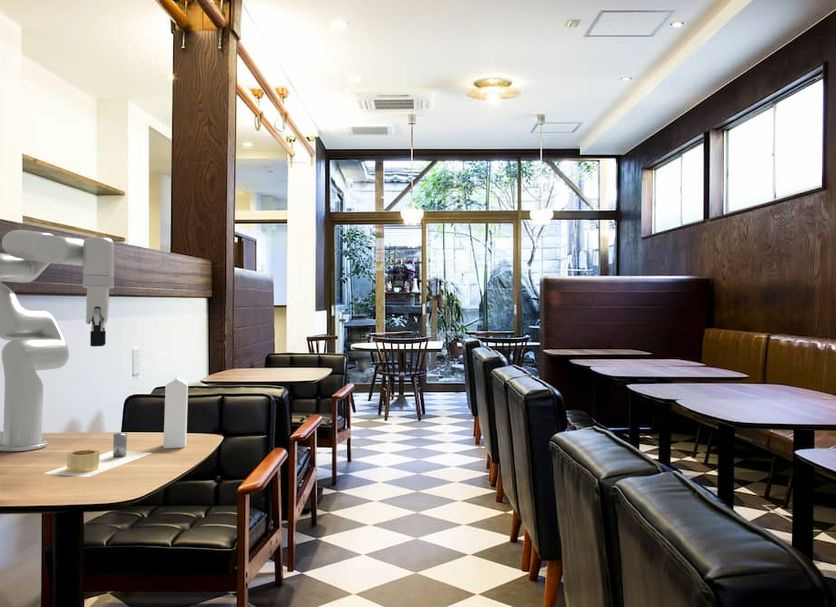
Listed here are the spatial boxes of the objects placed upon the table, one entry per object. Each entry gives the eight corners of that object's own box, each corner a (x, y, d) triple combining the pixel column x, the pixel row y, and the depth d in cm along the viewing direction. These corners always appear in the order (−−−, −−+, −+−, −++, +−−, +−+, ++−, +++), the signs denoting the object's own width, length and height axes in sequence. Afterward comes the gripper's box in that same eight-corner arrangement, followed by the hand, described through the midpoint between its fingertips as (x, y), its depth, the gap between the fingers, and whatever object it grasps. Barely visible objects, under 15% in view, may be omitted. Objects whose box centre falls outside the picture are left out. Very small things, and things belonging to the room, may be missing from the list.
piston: (110, 457, 166) (111, 434, 166) (118, 454, 169) (118, 432, 169) (121, 458, 165) (121, 435, 165) (128, 455, 168) (129, 433, 168)
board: (42, 479, 148) (43, 473, 148) (113, 455, 174) (113, 450, 174) (87, 483, 146) (88, 476, 146) (152, 458, 172) (153, 452, 172)
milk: (163, 448, 185) (165, 374, 185) (165, 444, 190) (167, 372, 191) (185, 447, 186) (186, 373, 186) (186, 443, 192) (188, 371, 192)
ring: (60, 471, 150) (61, 454, 151) (80, 464, 157) (81, 449, 157) (85, 473, 149) (86, 456, 149) (104, 466, 156) (105, 450, 156)
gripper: (85, 284, 176) (84, 345, 176) (80, 280, 160) (80, 347, 160) (114, 285, 179) (114, 344, 179) (113, 281, 163) (112, 346, 163)
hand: (98, 345), depth 169 cm, fingers open, 9 cm apart
